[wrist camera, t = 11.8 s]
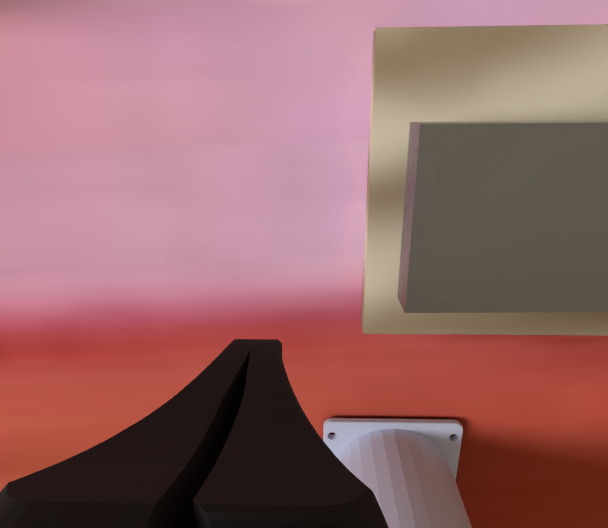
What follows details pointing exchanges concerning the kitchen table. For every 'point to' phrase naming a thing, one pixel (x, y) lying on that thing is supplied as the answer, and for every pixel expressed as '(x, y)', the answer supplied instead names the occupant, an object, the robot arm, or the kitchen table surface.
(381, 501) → the robot arm
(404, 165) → the beam stand
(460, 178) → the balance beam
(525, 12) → the kitchen table surface
